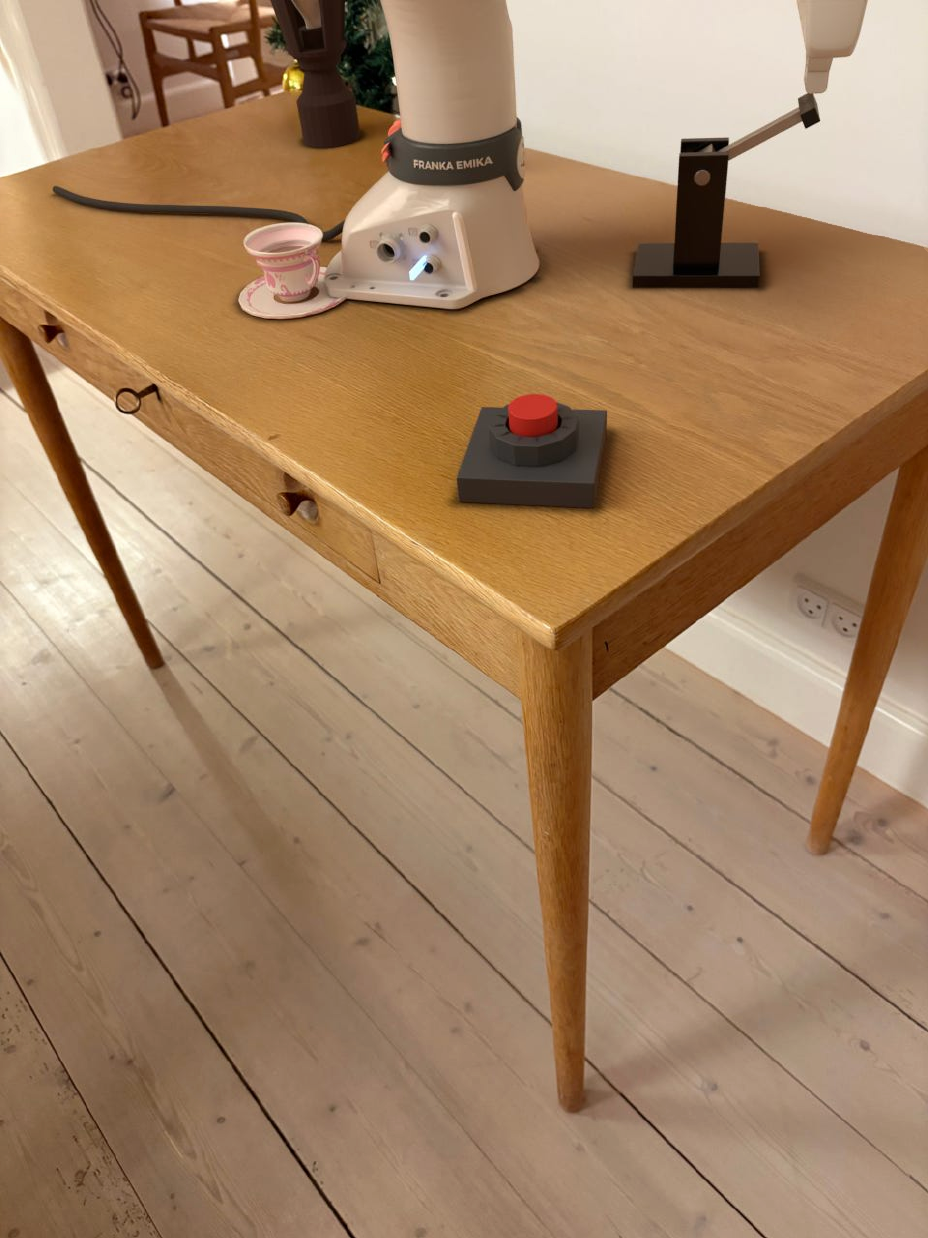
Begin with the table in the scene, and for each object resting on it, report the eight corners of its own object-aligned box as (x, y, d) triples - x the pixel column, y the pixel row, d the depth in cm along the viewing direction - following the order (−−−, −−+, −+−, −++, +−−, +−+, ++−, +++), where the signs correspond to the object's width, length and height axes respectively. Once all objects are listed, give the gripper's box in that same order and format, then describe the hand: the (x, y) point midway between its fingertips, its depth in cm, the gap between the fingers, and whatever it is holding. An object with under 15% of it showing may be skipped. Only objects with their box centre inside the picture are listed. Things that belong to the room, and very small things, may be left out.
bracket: (757, 253, 103) (770, 130, 95) (758, 287, 97) (772, 159, 89) (637, 254, 105) (641, 134, 97) (632, 287, 99) (635, 162, 92)
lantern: (387, 147, 139) (352, -122, 119) (280, 161, 138) (227, -106, 118) (379, 116, 150) (346, -134, 130) (280, 129, 149) (231, -120, 129)
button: (505, 438, 74) (504, 417, 73) (513, 413, 77) (512, 392, 76) (554, 440, 73) (553, 419, 72) (560, 414, 76) (560, 393, 75)
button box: (459, 502, 75) (454, 456, 72) (483, 430, 82) (479, 386, 79) (594, 508, 73) (594, 461, 70) (607, 434, 80) (607, 389, 77)
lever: (819, 109, 92) (809, 84, 90) (822, 126, 88) (812, 101, 87) (695, 176, 97) (684, 153, 96) (693, 195, 94) (682, 171, 93)
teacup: (216, 303, 105) (201, 245, 101) (302, 263, 111) (291, 206, 107) (290, 332, 99) (277, 270, 95) (377, 287, 105) (368, 227, 101)
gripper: (791, -119, 87) (774, 58, 96) (802, -79, 73) (780, 126, 82) (868, -126, 86) (843, 55, 95) (896, -86, 71) (863, 123, 80)
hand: (814, 88), depth 88 cm, fingers closed
